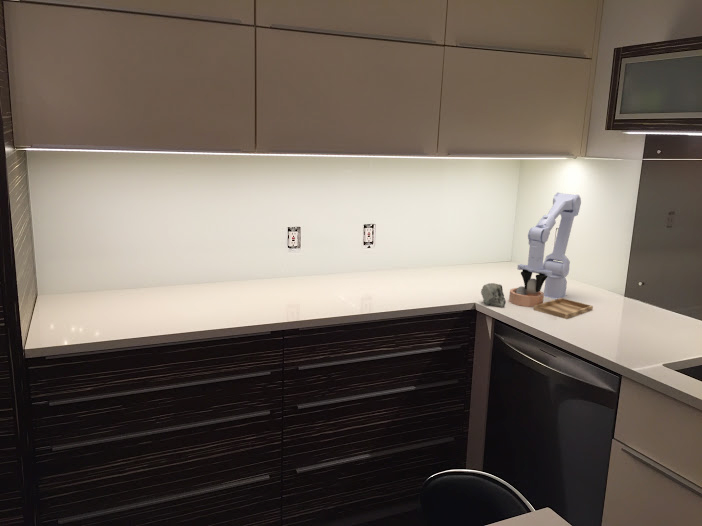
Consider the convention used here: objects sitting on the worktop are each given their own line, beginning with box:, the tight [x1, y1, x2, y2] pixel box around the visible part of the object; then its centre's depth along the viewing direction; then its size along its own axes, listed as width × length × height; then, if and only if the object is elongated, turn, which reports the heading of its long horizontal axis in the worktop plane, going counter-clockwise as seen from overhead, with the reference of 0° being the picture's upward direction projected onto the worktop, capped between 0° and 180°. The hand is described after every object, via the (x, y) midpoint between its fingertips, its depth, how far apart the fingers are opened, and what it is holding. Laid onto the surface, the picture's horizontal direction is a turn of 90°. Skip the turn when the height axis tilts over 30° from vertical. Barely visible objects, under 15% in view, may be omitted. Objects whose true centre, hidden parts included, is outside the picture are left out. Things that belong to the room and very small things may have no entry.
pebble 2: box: [526, 278, 538, 294], centre depth 244 cm, size 4×4×6 cm
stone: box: [480, 282, 506, 308], centre depth 243 cm, size 10×10×10 cm
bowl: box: [508, 287, 545, 308], centre depth 247 cm, size 13×13×5 cm
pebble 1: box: [516, 285, 527, 295], centre depth 249 cm, size 4×4×6 cm
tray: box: [533, 297, 594, 320], centre depth 238 cm, size 20×14×2 cm
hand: (532, 290), depth 244 cm, fingers closed on pebble 2, 4 cm apart
